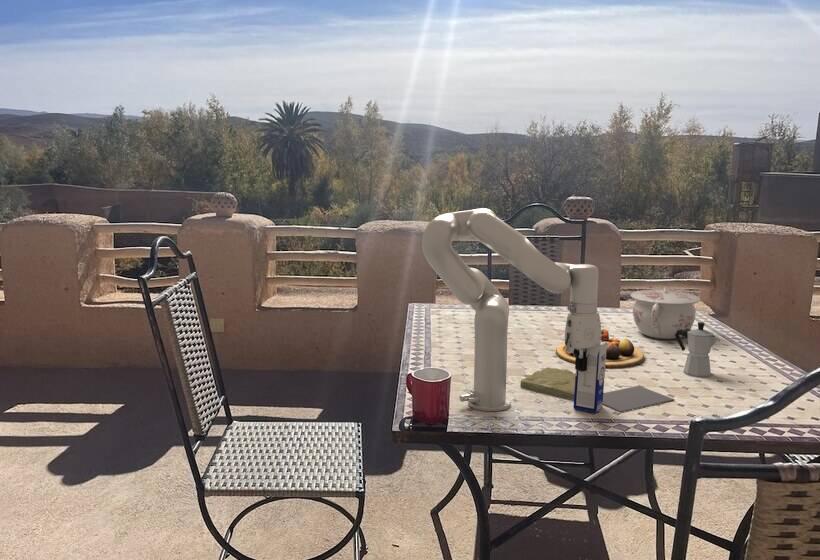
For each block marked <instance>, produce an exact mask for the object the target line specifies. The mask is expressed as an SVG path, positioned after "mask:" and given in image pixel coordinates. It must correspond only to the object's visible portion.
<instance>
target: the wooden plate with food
mask: <svg viewBox="0 0 820 560" xmlns="http://www.w3.org/2000/svg"><path fill="white" fill-rule="evenodd" d="M609 334H610V333H609V331H608V330H607V329H605V328H601V342H607V348H606V362H605V369H625V368H626V367H627V368H631V366H632V367H636V366H638V365H640V364H641V363H643V362H644V360H645V354H644V352H643V351H642V350H641V349H640V348H638V347H636V346H634V343H633V342H632V341H631V340H630V339H628V338H623V339H622V340H620V339H618V338H615V337H611V338H610V336H609ZM566 347H567V346H566V345H565V342H563V343H561V344H559V345H558V346H557V347H556V349H555V354H556V356H557V357H558V358H560V359H561V360H563V361H565V362H567V363H571V364H574V365H575V358H576V357H575V356H574V354H573V353H569V352H566ZM635 365H636V366H635Z"/></svg>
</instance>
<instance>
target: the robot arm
mask: <svg viewBox="0 0 820 560" xmlns="http://www.w3.org/2000/svg"><path fill="white" fill-rule="evenodd" d="M473 238H474V239H476V240H477V241H479V242H480V243H481V244H483V245H484V246H485V247H487V248H488V249H490V250H492V251H493V252H494V253H496V254H498V255H499V257H501V258H503V259H504V260H505V261H507V262H508V263H510V264H511V266H513V267H514V268H516V269H518V271H520V272H521V273H523V274H524V275H525V276H526V277H527V278H529V279H530V280H532V281H533V282H534V283H536V284H537V285H539V286H541V287H542V289H544V290H546V291H547V292H550V293H552V294H562V293H565V292H566V291H568V289H570V290H569V291H570V292H569V293H570V294H569V305H568V306H567V310H568V311H569V312H568V313H567V317H566V321H565V328H564V343H565V345H566V346H567V347H566V352H569V353H573V354H574V356H575V357H576V358H575V364H574V365H575V366H574V368H575V371H576V370H579V371H581V372H583V371H587V357H589V355H590V354H589V351H590V348H592V347H596V346H598V345H600V344H601V330H602V325H601V317H600V312H599V311H598V295H599V293H598V290H599V289H598V288H599V268H598V266H596V265H594V264H588V263H579V264H573V263H572V264H571V263H567V262H566V263H565V262H554V261H553V260H552V259H551V258H548V256H546V255H545V254H543V253H542V252H540V250H538V248H536V246H534V244H533V243H532V242H531V241H530V240H529V239H528V238H527V237H526V236H525V235H524V234H523V233H521V232H520V231H518V230H516V229H515V228H513V227H512V226H510V225H509V224H507V223H506V222H504V220H502V219H500V218H499V217H498V216H497V215H496V213H495V212H494V211H493V210H492V209H489V208H485V207H481V208H475V209H470V210H462V211H455V212H447V213H442V214H439V215H438V216H436V217H434V218H432V219H431V220H430V221H429V223H428V224H427V225H426V227H425V229H424V232H423V235H422V239H421V249H422V252H423V256H424V259H425V260H426V261H427V263H428V264H429V266H430V267H431V268H432V270H433V271H434V272H435V273H436V275H438V277H439V278H440V279H441V281H442V282H443V283H444V284H445V286H446V287H447V288H448V289H449V291H450V292H451V293H452V295H453V296H454V297H455V299H457V300H458V301H459V302H461V303H462V304H466V305H469V306H470V307H471V308H472V309H473V311H475V314H474V319H473V321H474V322H473V324H474V325H473V327H474V329H473V330H474V353H473V354H474V364H473V365H474V366H473V367H474V368H473V369H474V371H473V388H471V389H470V392H468V394H467V393H466V394H461V395H459V401H460V402H461V403H462V402H467V403H468V405H469V406H470V407H471V408H474V410H475V409H476V410H478V411H484V412H485V411H486V412H500V411H505V410H507V409H509V408H510V407H511V405H512V404H511V403H512V400H511V399H510V398H508V397H507V372H508V371H507V370H508V369H507V368H508V367H507V366H508V365H507V364H508V363H507V362H508V327H509V318H510V317H509V316H510V307H509V303H508V301H507V300H506V299H505V297H504V296H503V295H502V294H501V292H500V291H499V290H498V289H497V288H496V286H495V285H494V284H493V283H492V282H491V281H490V279H489V278H488V277H487V275H486V274H484V273H483V272H482V270H479V269H477V268H474V267H470V266H469V265H468V264H467V263H466V262H465V261H464V259H463V258H462V257H461V255H460V254H459V253H458V252H457V251H455V249H454V247H453V245H452V243H453V241H458V240H459V241H460V240H467V239H473ZM597 311H598V312H597ZM583 349H586V352H583Z"/></svg>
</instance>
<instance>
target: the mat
mask: <svg viewBox="0 0 820 560" xmlns="http://www.w3.org/2000/svg"><path fill="white" fill-rule="evenodd" d="M672 400H674V401H675V399H674V398H672V397H671V396H670V397H669V396H667V395H665V394H662V393H659V392H656V391H655V390H651V389H648V388H646V387H644V386H641V385H636V386H630V387H627V388H621V389H617V390H612V391H607V392H603V405H602V406H605V407H606V408H609V407H610V409H611V408H612V410H613V411H616V412H618V413H620V412H621V413H624V411H626V412H629V411H628V410H630V411H633V410H632V409H635V410H637V409H636V408H639V409H642V408H641V407H643V408H646V406H648V407H651V406H650V405H652V406H655V405H654V404H656V405H659V404H658V403H661V404H664V402H665V403H668V401H670V402H673V401H672Z"/></svg>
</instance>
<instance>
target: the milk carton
mask: <svg viewBox="0 0 820 560" xmlns="http://www.w3.org/2000/svg"><path fill="white" fill-rule="evenodd" d="M606 348H607V342H601V344H600V345H598V346H596V347H592V348H590V351H589V354H590V355H589V357H587V371H583V372H581V371H579V370H576V369H575V373H576V376H575V391H574V400H573V406H572V407H573V410H575V409H576V410H580V411H585V412H591V413H596V414H597V413H598V412H599V411H600V410H601V409H602V408H603V406H604V405H603V393H604V390H605V387H604V386H605V378H606V377H605V375H606V374H605V373H606V368H605V362H606ZM583 352H586V349H583Z"/></svg>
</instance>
